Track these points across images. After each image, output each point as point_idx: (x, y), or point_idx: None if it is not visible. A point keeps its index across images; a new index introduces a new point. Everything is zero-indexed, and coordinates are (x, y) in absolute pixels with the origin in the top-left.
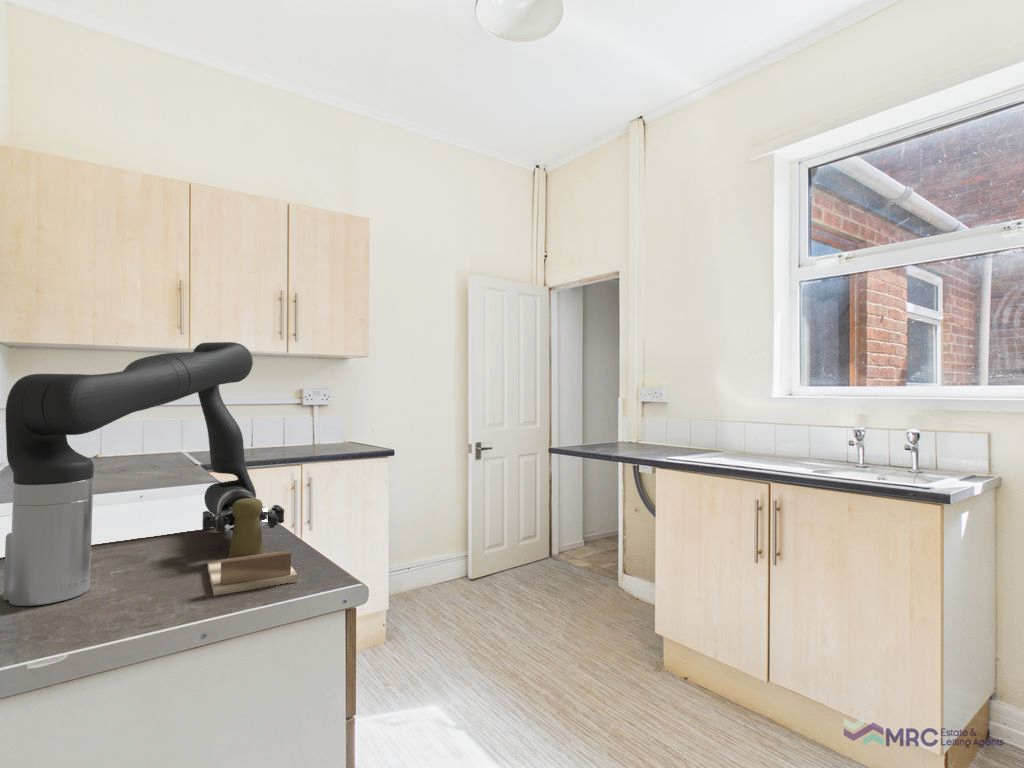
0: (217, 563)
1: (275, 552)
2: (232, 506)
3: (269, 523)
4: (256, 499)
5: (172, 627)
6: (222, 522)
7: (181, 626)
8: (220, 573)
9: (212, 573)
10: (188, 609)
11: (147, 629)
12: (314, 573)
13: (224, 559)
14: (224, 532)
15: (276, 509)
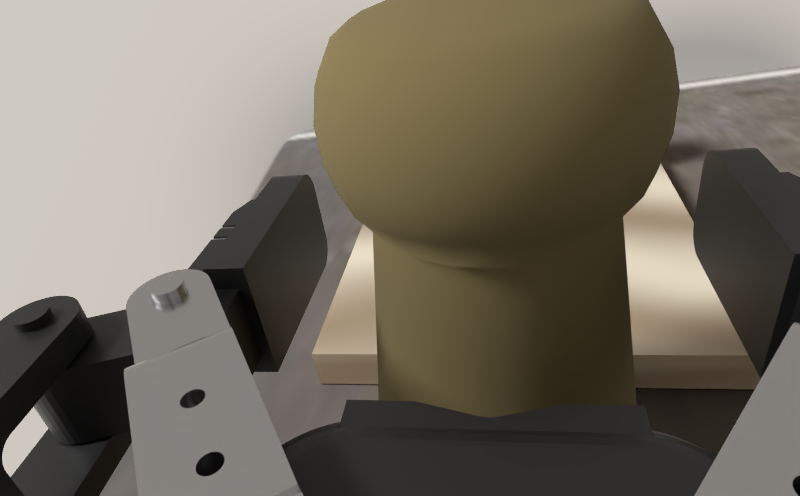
0: (686, 303)
1: (345, 351)
2: (673, 63)
3: (306, 264)
4: (382, 2)
5: (701, 85)
6: (732, 152)
7: (683, 85)
8: (641, 202)
9: (677, 208)
10: (693, 121)
11: (757, 85)
12: (318, 203)
13: (655, 350)
14: (695, 237)
15: (14, 388)
